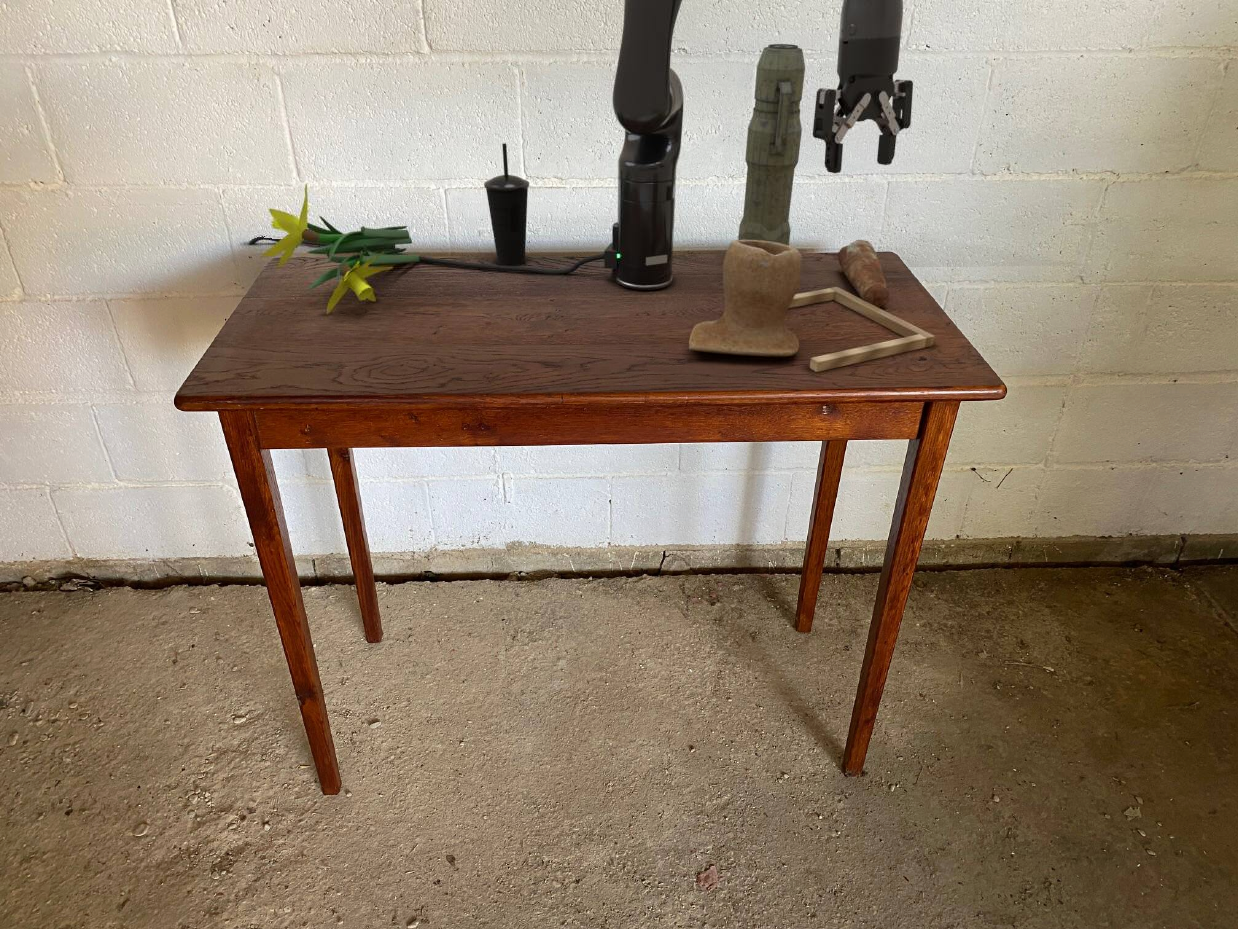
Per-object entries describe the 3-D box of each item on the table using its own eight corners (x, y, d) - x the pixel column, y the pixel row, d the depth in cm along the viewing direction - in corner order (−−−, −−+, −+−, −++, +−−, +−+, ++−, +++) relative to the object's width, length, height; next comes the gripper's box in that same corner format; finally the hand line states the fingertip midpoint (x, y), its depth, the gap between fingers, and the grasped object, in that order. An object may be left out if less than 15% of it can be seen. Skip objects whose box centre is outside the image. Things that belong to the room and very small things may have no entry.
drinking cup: (539, 257, 151) (534, 141, 141) (522, 270, 145) (515, 149, 135) (501, 252, 153) (493, 137, 143) (482, 265, 147) (472, 146, 137)
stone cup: (794, 333, 123) (808, 232, 115) (799, 368, 113) (814, 259, 105) (691, 327, 124) (697, 227, 116) (687, 361, 114) (693, 254, 106)
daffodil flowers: (462, 270, 148) (365, 283, 115) (397, 309, 152) (286, 332, 119) (414, 182, 145) (300, 170, 112) (349, 224, 150) (222, 224, 117)
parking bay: (816, 372, 112) (817, 362, 111) (728, 315, 129) (729, 306, 128) (932, 345, 119) (934, 336, 119) (835, 295, 136) (836, 286, 135)
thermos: (775, 251, 155) (798, 41, 136) (795, 273, 145) (823, 49, 126) (728, 253, 154) (745, 41, 135) (746, 275, 144) (766, 49, 125)
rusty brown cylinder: (871, 270, 147) (876, 239, 144) (891, 311, 131) (898, 277, 128) (834, 269, 147) (839, 237, 144) (850, 309, 131) (856, 275, 128)
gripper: (893, 29, 111) (881, 158, 119) (805, 37, 106) (798, 171, 114) (935, 29, 105) (919, 165, 113) (843, 37, 100) (833, 179, 108)
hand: (859, 168), depth 113 cm, fingers open, 8 cm apart
